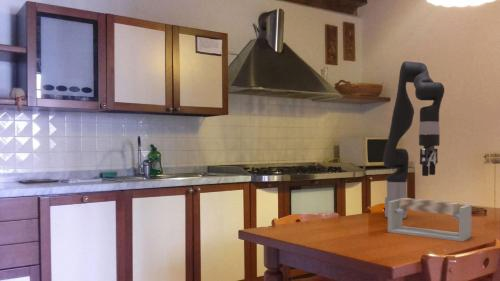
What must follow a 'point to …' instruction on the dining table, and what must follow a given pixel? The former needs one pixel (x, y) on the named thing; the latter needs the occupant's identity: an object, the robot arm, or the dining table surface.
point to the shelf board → (429, 206)
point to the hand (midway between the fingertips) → (428, 175)
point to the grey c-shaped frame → (397, 227)
